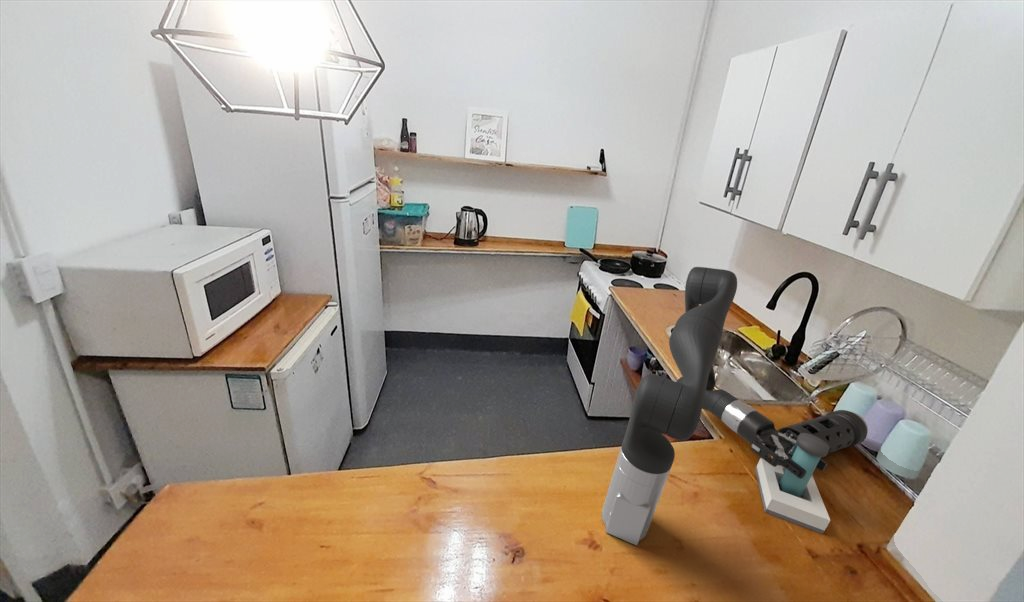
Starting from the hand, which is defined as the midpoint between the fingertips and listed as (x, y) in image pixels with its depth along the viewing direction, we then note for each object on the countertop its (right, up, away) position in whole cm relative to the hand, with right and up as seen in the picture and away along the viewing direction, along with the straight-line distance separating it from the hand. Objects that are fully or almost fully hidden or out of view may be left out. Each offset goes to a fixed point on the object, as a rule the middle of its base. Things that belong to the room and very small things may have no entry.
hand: (814, 471), depth 87 cm
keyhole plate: (-2, -9, +6) cm, 11 cm away
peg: (-2, -8, +5) cm, 10 cm away
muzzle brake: (+18, -5, +24) cm, 31 cm away
